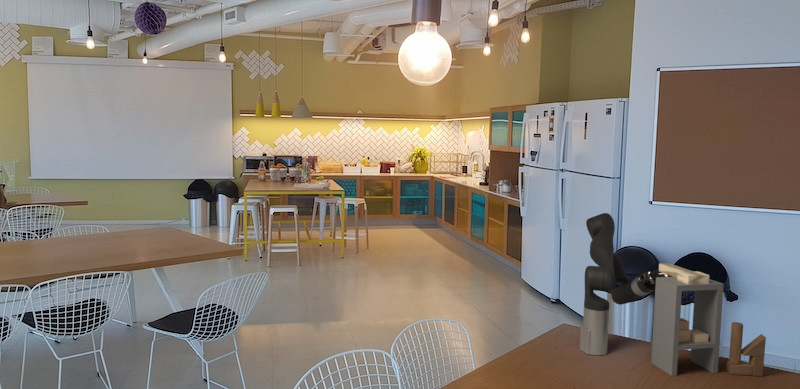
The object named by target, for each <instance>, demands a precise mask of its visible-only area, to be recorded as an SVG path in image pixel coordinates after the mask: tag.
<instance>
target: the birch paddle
mask: <svg viewBox="0 0 800 389" xmlns="http://www.w3.org/2000/svg"><path fill="white" fill-rule="evenodd" d="M658 272H659V273H665V274H667V275H670V276H673V277H675V278H677V280H678V281H681V282H683V283H686V284H709V279H710V274H708V273H707V274H706V273H704V272H702V271H697V270H696V271H693V270H690V269H687V268H684V267H681V266H678V265H675V264H672V263H669V262H663V263H659V264H658ZM665 274H664V275H665Z"/></svg>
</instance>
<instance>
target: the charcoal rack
mask: <svg viewBox="0 0 800 389" xmlns="http://www.w3.org/2000/svg"><path fill="white" fill-rule="evenodd" d="M724 286H725V285H724V283H722V282H719V281H717V280H713V279H710V278H709V284H686V283H683V282H681V281H678V280H677V278H675V277H666V276H664V277H656V287H655V291H654V294H655V295H654V307H653V310H654V311H653V328H652V344H651V362H650V363H651V364H652V365H654V366H656V367H657V368H659V369H660V370H662V372H665V373H666V374H667V375H670V376H671V377H673V376H674V377H675V376H676V377H677V376H678V375H677V374H678V361H679V360H678V359H679V351H680V350H681V351H682V350H683V351H684V350H690V362H692V363H693V364H696V365H697V366H699V367H701V368H702V369H704V370H706V371H708V372H710V373H711V374H718V373H719V357H720V346H721V345H720V344H721V341H720V340H721V331H722V330H721V328H722V317H723V316H722V312H723V303H724V302H723V300H724ZM693 291H694V298H693V312H692V313H693V316H692V329H689V328H690V321H689V320H687V319H685V318H683V317H681V315H682V314H681V313H682V296H683V295H682V294H683V292H693Z"/></svg>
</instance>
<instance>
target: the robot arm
mask: <svg viewBox="0 0 800 389" xmlns="http://www.w3.org/2000/svg"><path fill="white" fill-rule="evenodd" d="M585 224H586V228H587V231H588V234H589V236H590V238H591V239H592V240H591V242H590V245H589V256H590V258H591V260H592V261H593V262H594V263H595V264H596V265H587V266H586V268H585V271H584V298H583V299H584V300H583V320H582V321H583V324H582V325H580V337H579V339H580V340H579V349H580V351H582V352H583V353H585V354H586V355H592V356H605V355H607V354H608V343H609V342H608V341H609V340H608V339H609V323H610V321H609V319H610V301H608V300H607V299H605V298H603V297H602V296H599V295H598V294H596V293H595V292H596V291H600V292H611V291H612V292H611V300H612V301H613V302H614V303H615V304H616V305H618V306H619V305H620V306H621V305H625V304H629V303H634V302H636V301H637V300H638V299H639V298H641V297H643V296H647V295H648V294H651V293H652V292H655V287H656V277H673V276H670V275H667V274H665V273H662V272H659V269H654V270H653V271H647V272H642V273H641V274H639V275H638V276H636V277H635V278H634V279H633V280H631V279H630V278H629V276H628V275H627V273H626V270H625V267H624V265H623V262H622V260H621V258H620V257H618V255H617V254H616V253H615V252H614V250H615V249H614V236H615V230H616V229H615V221H614V218H613V217H612V215H611V214H610V213H608V212H604V213H600V214H597V215H595V216H592V217H589V218H587V219H586V222H585ZM615 284H619V285H620V286H617V287H615ZM614 287H615V288H614ZM594 291H595V292H594Z"/></svg>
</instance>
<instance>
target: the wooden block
mask: <svg viewBox="0 0 800 389" xmlns="http://www.w3.org/2000/svg"><path fill="white" fill-rule="evenodd" d="M743 334H744V323H741V322H738V321H733V322H731V327H730V341H729V355H728V360H727V361H726V372H727V373H729V374H730V375H737V376H740V375H741V376H750V375H751V376H753V377H763V376H764V364H765V355H766V354H765V351H766V340H767V337H766V336H765V335H763V334H759V335H758V336H756V338H754V339H753V340H751V341H750V343H748V344H746V345H745V346H744V347H743ZM742 347H743V348H742ZM742 356H743V357H744V356H746V357H748V363H747V362H744V361H742Z"/></svg>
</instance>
